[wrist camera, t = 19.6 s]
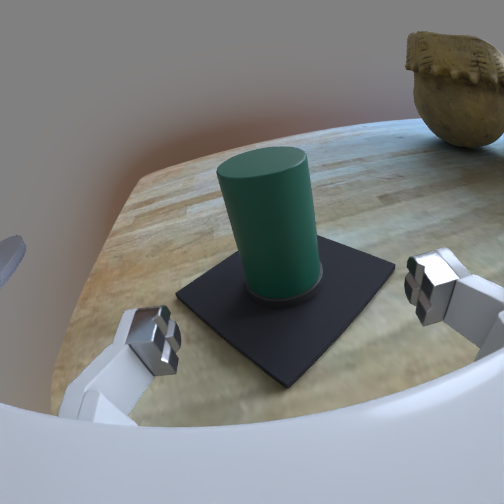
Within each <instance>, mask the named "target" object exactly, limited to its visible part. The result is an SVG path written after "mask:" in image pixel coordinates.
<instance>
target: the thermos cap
mask: <svg viewBox="0 0 504 504" xmlns="http://www.w3.org/2000/svg"><path fill="white" fill-rule="evenodd" d="M216 173H217V177H218V180H219V184H220V188H221V191H222V195H223V198H224V202H225V205H226V209H227V213H228V216H229V220H230V223H231V227H232V230H233V234H234V237H235V241H236V244H237V248H238V251H239V255H240V258H241V262H242V265H243V269H244V272H245V280H244V281H245V286H246V289H247V292H248V294H249V296H250V297H251V298H252V299H253V300H254V301H255V302H256V303H258V304H260V305H262V306H265V307H269V308H277V309H282V308H290V307H294V306H298V305H300V304H303V303H305V302H307V301H308V300H310V299H311V298H312V297H314V296H315V295H316V294H317V293H318V291H319V290H320V288H321V286H322V284H323V279H324V277H323V267H322V264H321V262H320V261H319V252H318V241H317V232H316V222H315V214H314V205H313V197H312V189H311V182H310V174H309V167H308V160H307V154H306V153H305V151H303V150H301V149H299V148H294V147H268V148H261V149H256V150H252V151H248V152H245V153H242V154H239V155H237V156H234V157H232V158H230V159H228V160H226V161H225V162H223V163H222V164H221V165H220V166H219V167H218V168H217V171H216Z"/></svg>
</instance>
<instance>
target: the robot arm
mask: <svg viewBox="0 0 504 504" xmlns="http://www.w3.org/2000/svg"><path fill="white" fill-rule="evenodd" d="M407 268H408V270H409V273H408V274H407V275H406V277H405V283H404V286H405V293H406V296H407V299H408V300H409V302H410V304H412V305H414V306H416V312H415V313H416V315H417V316H418V318H419V320H420V322H421V324H422V325H423V326H427V325H430V324H433V323H437V322H440V321H443V320H444V321H443V322H445V323H446V324H448V325H449V326H450V327H452V328H453V329H455V330H456V331H457V332H459V333H460V334H461V335H463V336H464V337H465V338H467V339H468V340H470V341H471V342H472V343H474V344H475V345H476V346H478V347H479V348H480V350H479V352H478V354H477V356H476V357H475V360H474V362H473V363H471V364H469V365H467V366H465V367H463V368H460V369H458V370H456V371H453V372H451V373H449V374H446V375H444V376H441V377H439V378H436V379H434V380H431V381H429V382H426V383H423V384H421V385H418V386H415V387H412V388H409V389H406V390H403V391H400V392H397V393H394V394H391V395H388V396H385V397H381V398H378V399H374V400H371V401H367V402H363V403H360V404H356V405H352V406H348V407H344V408H339V409H335V410H331V411H326V412H321V413H316V414H311V415H306V416H300V417H294V418H288V419H281V420H274V421H267V422H258V423H249V424H239V425H226V426H209V427H144V426H138V425H137V423H136V422H134V421H133V420H132V419H131V418H129V417H128V414H129V413H130V412H131V410H132V409H133V407H134V406H135V405H136V403H137V402H138V400H139V399H140V397H141V396H142V395H143V393H144V392H145V390H146V389H147V387H148V386H149V385H150V383H151V382H152V380H153V379H154V376H163V375H174V374H176V373H177V366H178V360H179V358H178V357H177V355H176V354H175V353H176V352H177V351H178V350H179V349H180V346H181V334H180V330H179V327H178V325H177V323H176V322H175V321H173V320H172V319H170V314H171V313H170V311H169V309H168V308H167V306H164V305H161V306H153V307H145V308H138V309H130V310H126V311H125V312H124V313H123V315H122V318H121V321H120V323H119V326H118V329H117V332H116V334H115V337H114V340H113V343H112V345H110V346H107V347H106V348H105V349H104V350H103V351H102V352H101V353H100V354H99V355H98V356H97V357H96V358H95V359H94V360H93V361H92V362H91V363H90V364H89V365H88V366H87V367H86V368H85V369H84V370H83V371H82V372H81V373H80V374H79V375H78V376H77V377H76V378H75V379H74V380H73V381H72V382H71V383H70V384H69V385H68V386H67V388H66V391H65V394H64V397H63V400H62V403H61V406H60V409H59V412H58V416H52V415H47V414H42V413H38V412H33V411H29V410H25V409H21V408H17V407H14V406H10V405H7V404H3V403H0V504H504V288H503V287H501V286H498V285H496V284H494V283H492V282H490V281H488V280H486V279H484V278H482V277H479V276H477V275H475V274H474V275H471V274H470V273H469V272H468V271H467V269H466V268H465V267H464V266H463V265H462V263H461V262H460V261H459V260H458V259H457V258H456V256H455V255H454V254H453V253H452V252H451V251H450V250H449V249H448V248H446V247H444V248H441V249H437V250H434V251H431V252H427V253H423V254H419V255H415V256H411V257H409V259H408V261H407Z"/></svg>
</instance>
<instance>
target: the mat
mask: <svg viewBox="0 0 504 504" xmlns="http://www.w3.org/2000/svg"><path fill="white" fill-rule="evenodd" d="M317 241H318V252H319V261H320V262H321V264H322V267H323V277H324V279H323V284H322V286H321V288H320V290H319V291H318V293H317V294H316V295H315V296H314V297H312V298H311V299H310V300H308V301H307V302H305V303H303V304H300V305H298V306H294V307H290V308H282V309H277V308H269V307H265V306H262V305H260V304H258V303H256V302H255V301H254V300H253V299H252V298H251V297H250V296H249V294H248V292H247V289H246V286H245V281H244V280H245V272H244V269H243V265H242V262H241V258H240V255H239V251H237V252H235V253H234V254H232V255H231V256H229V257H228V258H226V259H225V260H224V261H222V262H221V263H219V264H218V265H216V266H215V267H213V268H212V269H210V270H209V271H207V272H206V273H204V274H203V275H201V276H200V277H198V278H197V279H196V280H194V281H193V282H191V283H190V284H188V285H187V286H185V287H184V288H182V289H181V290H179V291H178V292H177V293H175V294H176V296H177V298H178V299H179V300H180V301H182V302H183V303H184V304H185V305H186V306H187V307H188V308H189V309H190V310H191V311H193V312H194V313H195V314H196V315H197V316H198V317H199V318H201V319H202V320H203V321H204V322H205V323H206V324H207V325H209V326H210V327H211V328H212V329H213V330H214V331H215V332H217V333H218V334H219V335H220V336H221V337H223V338H224V339H225V340H226V341H227V342H229V343H230V344H231V345H232V346H233V347H235V348H236V349H237V350H238V351H239V352H241V353H242V354H243V355H244V356H246V357H247V358H248V359H249V360H251V361H252V362H253V363H254V364H256V365H257V366H258V367H259V368H261V369H262V370H263V371H264V372H266V373H267V374H268V375H270V376H271V377H272V378H273V379H275V380H276V381H277V382H279V383H280V384H281V385H283V386H284V387H285V388H287V389H288V388H289V387H290V386H291V385H292V384H293V383H294V382H295V381H296V380H297V379H298V378H299V377H300V376H301V375H302V374H303V373H304V372H305V371H306V370H307V369H308V368H309V367H310V366H311V365H312V364H313V363H314V362H315V361H316V360H317V359H318V358H319V357H320V356H321V355H322V354H323V353H324V352H325V351H326V350H327V349H328V348H329V347H330V346H331V344H332V343H333V342H334V341H335V340H336V339H337V338H338V337H339V336H340V335H341V334H342V332H343V331H344V330H345V329H346V328H347V327H348V326H349V325H350V323H351V322H352V321H353V320H354V319H355V318H356V317H357V315H358V314H359V313H360V312H361V311H362V310H363V308H364V307H365V306H366V305H367V304H368V302H369V301H370V300H371V299H372V298H373V296H374V295H375V294H376V293H377V291H378V290H379V289H380V288H381V286H382V285H383V284H384V283H385V281H386V280H387V279H388V277H389V276H390V275H391V274H392V272H393V271H394V270H395V264H393V263H391V262H388V261H386V260H383V259H380V258H378V257H375V256H372V255H370V254H367V253H365V252H362V251H359V250H357V249H354V248H351V247H348V246H346V245H343V244H340V243H338V242H335V241H332V240H329V239H326V238H324V237H321V236H318V235H317Z"/></svg>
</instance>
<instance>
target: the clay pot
mask: <svg viewBox="0 0 504 504" xmlns="http://www.w3.org/2000/svg"><path fill="white" fill-rule="evenodd" d="M405 68H406V70H412V71H414V79H415V80H414V91H413V93H414V103H415V106H416V108H417V110H418V113H419V115H420V116H421V118H422V119H423V121H424V122H425V124H426V125H427V126H428V127H429V129H430V130H431V131H432V132H433V133H434V134H435V135H436V136H437V137H439V138H440V139H442V140H444V141H446V142H448V143H450V144H452V145H455V146H458V147H469V148H476V147H482V146H486V145H489V144H491V143H493V142H495V141H496V140H497V139H499V138H500V137H501V136H502V134H503V133H504V56H503V54H502V53H501V52H500V51H499V50H498V49H497V48H495V47H494V46H493V45H492V44H491V43H489V42H487V41H485V40H483V39H481V38H479V37H477V36H470V35H447V34H438V33H433V32H428V31H420V32H419V31H418V32H417V33H410V34H409V35H408V38H407V61H406V65H405Z"/></svg>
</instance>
